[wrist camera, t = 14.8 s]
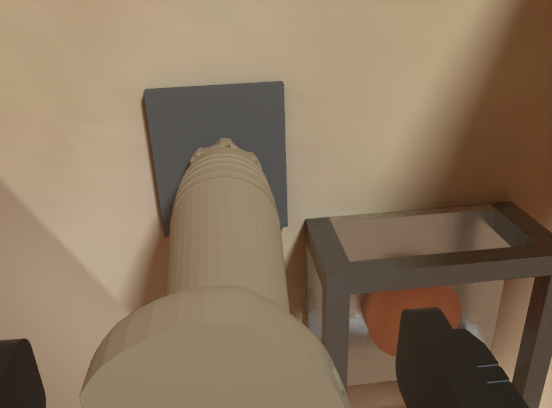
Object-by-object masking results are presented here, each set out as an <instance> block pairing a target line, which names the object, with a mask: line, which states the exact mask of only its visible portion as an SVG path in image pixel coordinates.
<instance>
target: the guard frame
mask: <svg viewBox="0 0 552 408" xmlns="http://www.w3.org/2000/svg"><path fill="white" fill-rule="evenodd" d="M527 277H535V280H534V285H533V289H532V294H531V298H530V303H529V307H528V312H527V317H526V321H525V326H524V330H523V335H522V339H521V344H520V348H519V353H518V357H517V362H516V367H515V371H514V376H513V380H512V384H513V385H514V386H515V388H516V389H517V391H518V392H519V394H520V395H521V397H522V398H523V399H524V401H525V402H526V404H527V405H528V407H529V408H538V407H539V404H540V400H541V396H542V392H543V388H544V384H545V380H546V376H547V372H548V369H549V365H550V361H551V357H552V233H551V232H550V231H549V230H547V229H546V228H545V227H543V226H542V225H541V224H540V223H538V222H537V221H536V220H534V219H533V218H532V217H531V216H529V215H528V214H527V213H525V212H524V211H523V210H522V209H520V208H519V207H518V206H516V205H515V204H514V203H513V202H508V203H496V204H484V205H472V206H460V207H448V208H436V209H424V210H412V211H400V212H388V213H376V214H364V215H352V216H340V217H328V218H316V219H306V308H307V328H308V329H310V330H311V331H312V332H313V333H314V334H315V335H316V336H317V337H318V338H319V340H320V341H321V343H322V344H323V346H324V347H325V348H326V350H327V351H328V353H329V355H330V357H331V359H332V361H333V363H334V365H335V368H336V370H337V372H338V374H339V376H340V378H341V381H342V383H343V385H344V387H345V390H346V393H347V386H352V385H361V384H369V383H378V382H387V381H396V380H397V377H396V369H395V361H396V357H395V356H391V355H389V354H387V353H385V352H383V351H382V350H380V349H379V348H378V347H377V346H376V345H375V343H374V342H373V340H372V338H371V335H370V333H369V331H368V328H367V326H366V324H365V321H364V319H363V311H362V309H363V303H364V299H365V297H366V295H367V293H373V292H383V291H394V290H404V289H414V288H425V287H435V286H445V285H450V287H451V288H452V289H453V291H454V292H455V293H456V295H457V296H458V298H459V300H460V303H461V307H462V316H461V320H460V323H459V326H458V328H457V329H462V328H465V329H466V330H468V331H469V332H470V333H472V334H473V335H474V336H476V337H477V338H478V339H479V340H481V341H482V342H483V343H485V344H486V346H487V347H488V349H489V350H490V352H491V349H492V344H493V338H494V333H495V328H496V323H497V317H498V312H499V307H500V302H501V296H502V291H503V286H504V280H507V279H517V278H527ZM509 382H510V381H509Z"/></svg>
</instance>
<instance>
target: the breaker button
mask: <svg viewBox="0 0 552 408" xmlns="http://www.w3.org/2000/svg"><path fill="white" fill-rule="evenodd" d="M427 307H438V308H440V309H441V311H442V312H443V314H444V315H445V317H446V318H447V320H448V322H449V323H450V325H451V326H452V328H453V329H457V328H458V326H459V323H460V320H461V316H462V307H461V303H460V300H459V298H458V296H457V295H456V293H455V292H454V291H453V289H452V288H451V287H450V285H445V286H435V287H425V288H414V289H404V290H394V291H383V292H373V293H367V295H366V297H365V299H364V303H363V309H362V311H363V319H364V321H365V324H366V326H367V328H368V331H369V333H370V335H371V338H372V340H373V342H374V343H375V345H376V346H377V347H378V348H379V349H380V350H382V351H383V352H385V353H387V354H389V355H391V356H395V357H396V352H397V344H398V335H399V327H400V319H401V314H402V311H403V310H404V309H415V308H427Z"/></svg>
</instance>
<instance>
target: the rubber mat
mask: <svg viewBox="0 0 552 408" xmlns="http://www.w3.org/2000/svg"><path fill="white" fill-rule="evenodd" d="M144 99H145V106H146V113H147V120H148V126H149V133H150V140H151V147H152V154H153V161H154V167H155V174H156V181H157V188H158V195H159V202H160V208H161V215H162V222H163V229H164V236H165V237H168V236H170V221H171V216H172V211H173V206H174V202H175V198H176V194H177V191H178V188H179V185H180V183H181V180H182V178H183V176H184V174H185V172H186V170H187V169H188V167H189V166H190V164H191V163H190V159H191V157H192V156H193V154H194V153H195V151H196V150H197V149H198V148H200V147H201V148H205V147H209V146H212V145H213V144H215V143H216V142H218V140H219V139H220V138H230V139H231V140H232V142H233V143H234V144H235V145H236V146H238V147H239V148H240V149H242V150H244V151H247V152H253V153H254V154H255V156H256V157H257V158H258V160H259V162H260V164H261V167H262V171H263V173H264V175H265V177H266V179H267V181H268V184H269V187H270V189H271V192H272V195H273V197H274V201H275V204H276V208H277V212H278V217H279V221H280V227H287V226H288V221H287V185H286V148H285V111H284V84H283V82H282V81H277V82H260V83H242V84H225V85H208V86H191V87H174V88H156V89H145V90H144Z"/></svg>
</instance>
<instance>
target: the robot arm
mask: <svg viewBox="0 0 552 408" xmlns="http://www.w3.org/2000/svg"><path fill="white" fill-rule="evenodd" d="M395 369H396V377H397V382H398V386H399V389H400V392H401V394H402V397H403V399H404V401H405V404H406V406H407V408H529V407H528V405H527V404H526V402H525V401H524V399H523V398H522V397H521V395H520V394H519V392H518V391H517V389H516V388H515V386H514V385H513V384H512V383H510V382H509V378H508V376H507V375H506V373H505V372H504V370H503V369H502V368H501V367H499V366H498V362H497V360H496V359H495V357H494V356H493V355H492V353H491V352H490V350H489V349H488V347H487V346H486V344H485V343H483V342H482V341H481V340H479V339H478V338H477V337H476V336H474V335H473V334H472V333H470V332H469V331H468V330H466V329H465V328H462V329H453V328H452V326H451V325H450V323H449V322H448V320H447V318H446V317H445V315H444V314H443V312H442V311H441V309H440V308H438V307H427V308H415V309H404V310H403V311H402V314H401V319H400V327H399V335H398V344H397V352H396V361H395ZM0 408H46V396H45V391H44V387H43V384H42V380H41V377H40V374H39V370H38V367H37V364H36V360H35V357H34V354H33V350H32V347H31V344H30V342H29V341H28V340H27V339H13V340H0Z"/></svg>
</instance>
